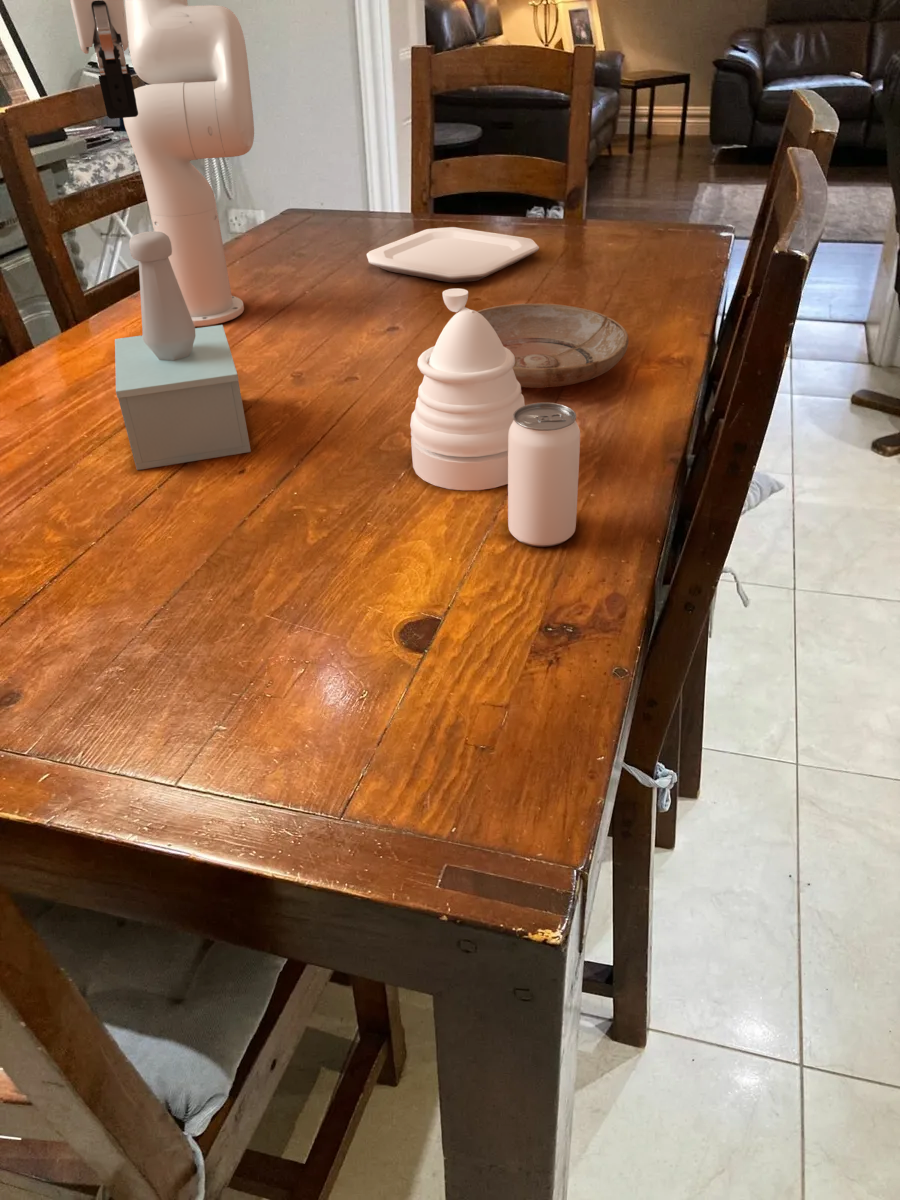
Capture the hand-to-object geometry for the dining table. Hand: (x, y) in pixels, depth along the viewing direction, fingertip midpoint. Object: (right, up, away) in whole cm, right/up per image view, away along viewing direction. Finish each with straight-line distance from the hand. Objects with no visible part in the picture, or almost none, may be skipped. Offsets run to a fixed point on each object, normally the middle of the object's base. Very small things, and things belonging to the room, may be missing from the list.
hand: (122, 110), depth 104 cm
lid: (+5, -28, +2) cm, 28 cm away
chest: (+5, -34, +7) cm, 36 cm away
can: (+45, -48, -14) cm, 67 cm away
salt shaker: (+5, -27, +2) cm, 27 cm away
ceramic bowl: (+48, -24, +19) cm, 57 cm away
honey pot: (+39, -39, -1) cm, 55 cm away
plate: (+37, +5, +60) cm, 71 cm away
